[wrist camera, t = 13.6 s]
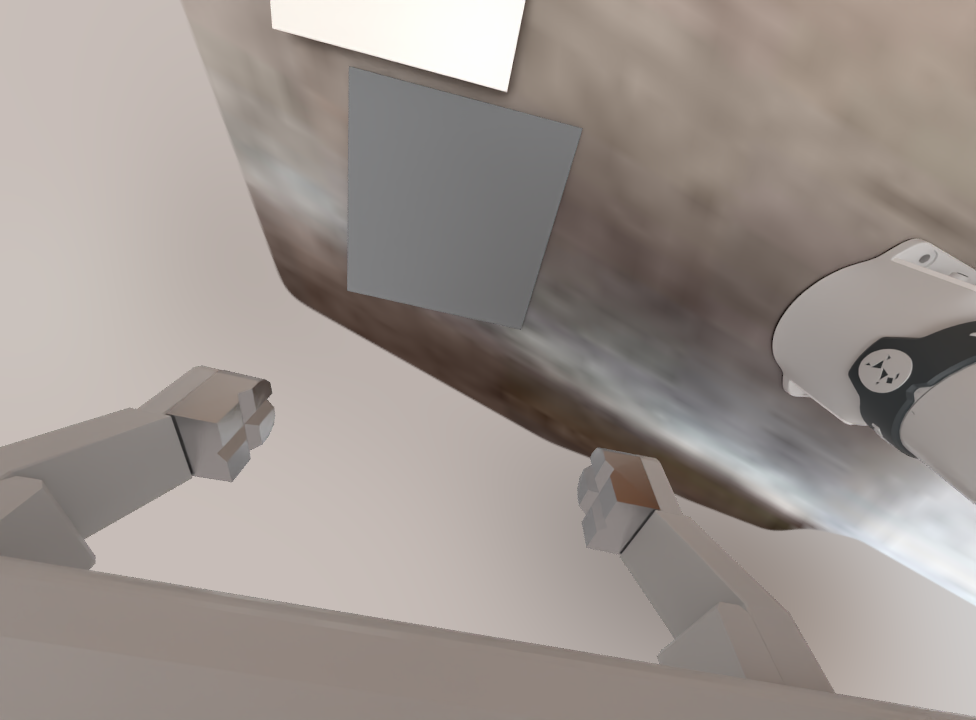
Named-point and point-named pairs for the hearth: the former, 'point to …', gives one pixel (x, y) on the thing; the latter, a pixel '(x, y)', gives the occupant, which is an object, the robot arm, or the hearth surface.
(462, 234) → the charcoal mat
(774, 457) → the hearth surface
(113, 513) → the robot arm
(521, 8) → the cover sheet
